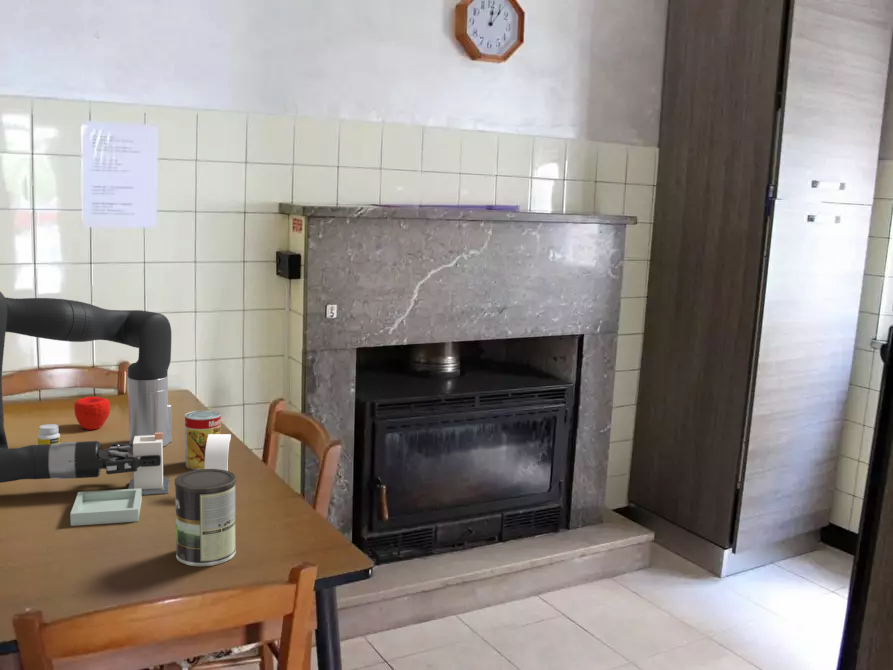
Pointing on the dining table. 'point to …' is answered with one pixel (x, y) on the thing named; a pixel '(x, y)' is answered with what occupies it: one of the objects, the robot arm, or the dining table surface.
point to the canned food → (199, 435)
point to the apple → (92, 412)
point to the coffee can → (205, 517)
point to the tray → (106, 507)
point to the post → (153, 491)
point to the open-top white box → (152, 474)
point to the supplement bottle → (48, 434)
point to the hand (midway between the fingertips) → (160, 455)
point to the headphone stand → (217, 451)
